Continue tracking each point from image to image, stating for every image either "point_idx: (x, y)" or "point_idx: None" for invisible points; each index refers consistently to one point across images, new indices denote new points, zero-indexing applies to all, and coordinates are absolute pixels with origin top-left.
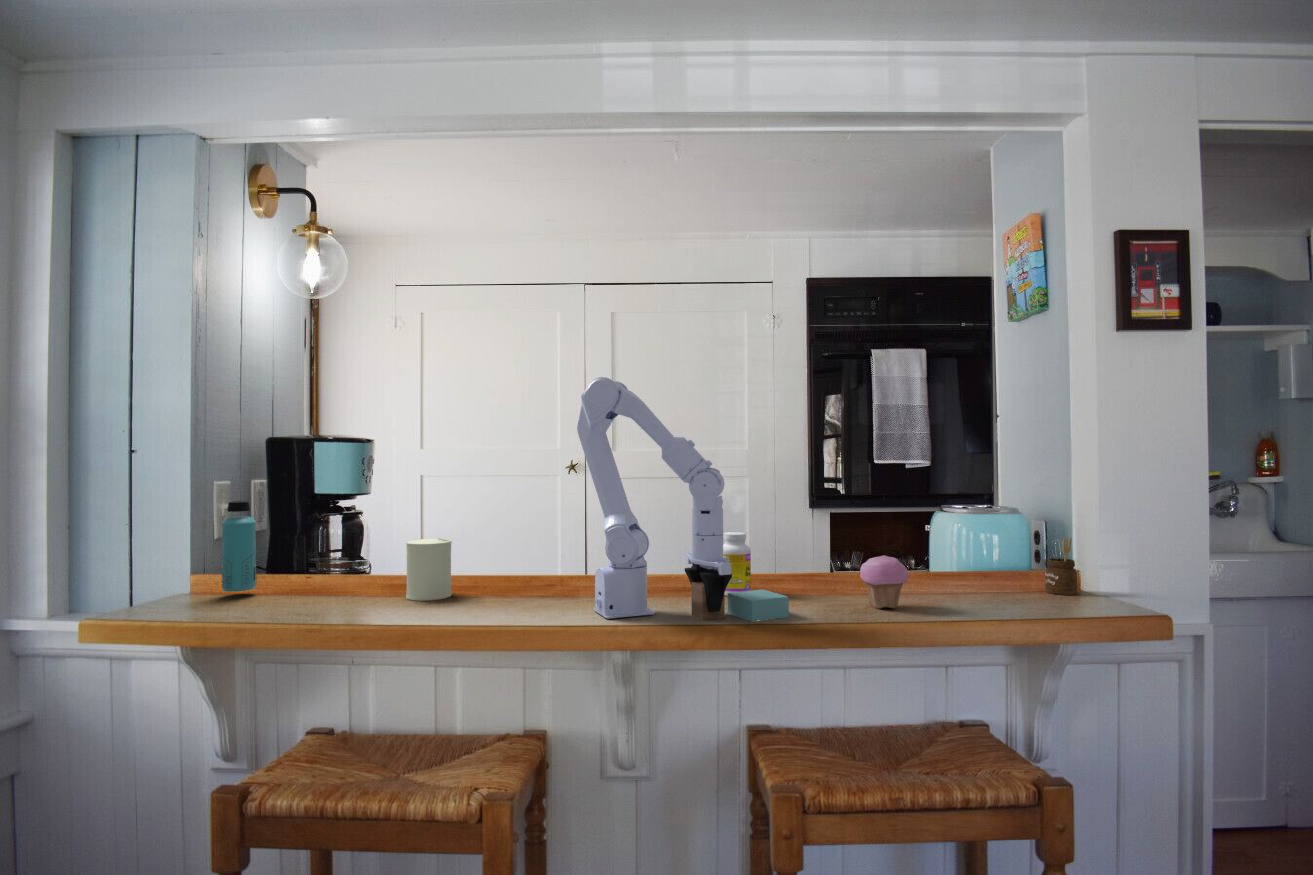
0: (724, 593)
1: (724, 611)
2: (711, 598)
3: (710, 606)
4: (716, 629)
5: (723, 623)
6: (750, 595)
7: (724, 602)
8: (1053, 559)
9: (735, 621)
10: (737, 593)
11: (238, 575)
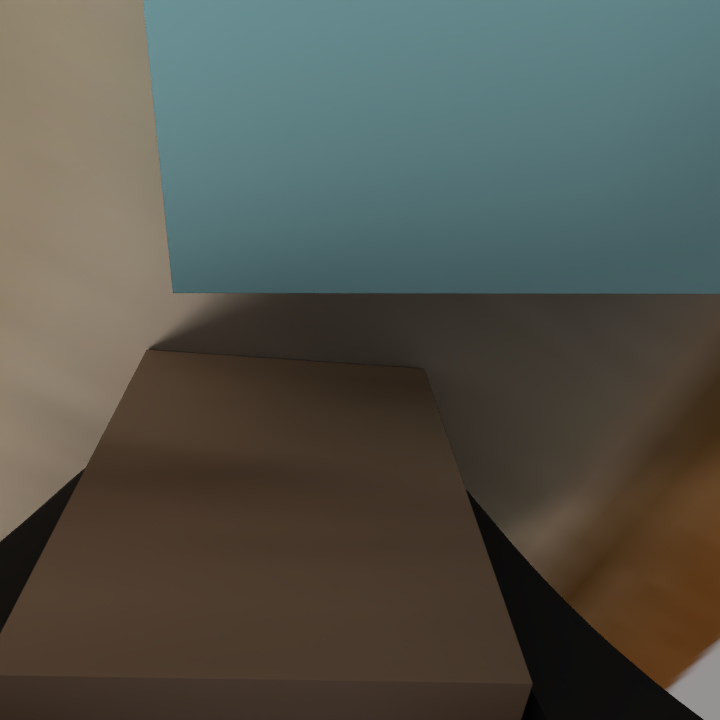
0: (486, 553)
1: (436, 405)
2: None
3: None
4: (710, 608)
5: (597, 482)
6: (618, 14)
7: (453, 464)
8: None
9: (610, 352)
10: (287, 135)
11: None
